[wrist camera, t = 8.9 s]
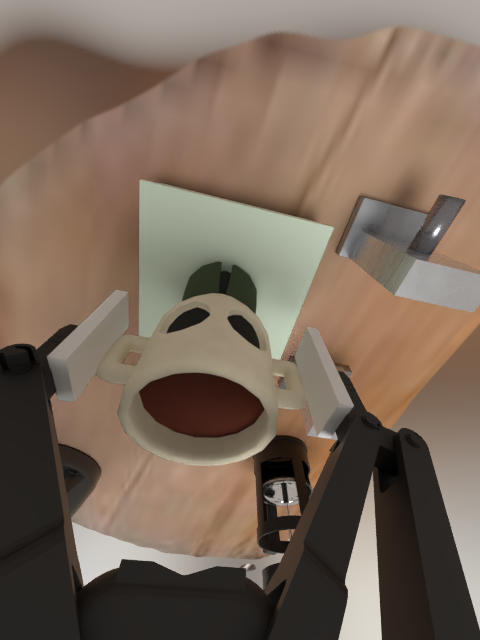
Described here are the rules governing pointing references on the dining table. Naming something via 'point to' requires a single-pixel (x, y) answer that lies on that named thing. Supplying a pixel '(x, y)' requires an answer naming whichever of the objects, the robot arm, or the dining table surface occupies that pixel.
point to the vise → (405, 260)
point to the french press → (279, 494)
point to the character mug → (204, 375)
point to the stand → (224, 254)
